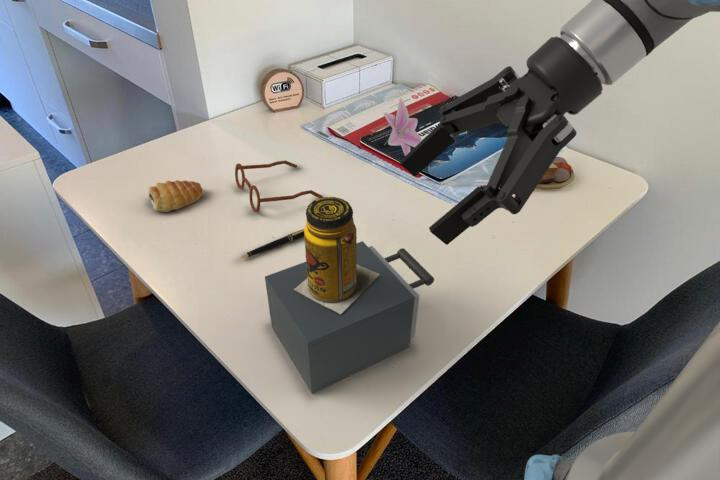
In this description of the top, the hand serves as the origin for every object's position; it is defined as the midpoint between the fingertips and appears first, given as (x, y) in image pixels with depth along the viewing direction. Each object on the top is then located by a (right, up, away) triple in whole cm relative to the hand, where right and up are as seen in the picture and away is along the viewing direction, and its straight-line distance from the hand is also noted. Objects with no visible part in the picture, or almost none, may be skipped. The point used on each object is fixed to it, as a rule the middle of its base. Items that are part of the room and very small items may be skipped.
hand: (420, 200), depth 59 cm
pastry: (-41, +3, +38) cm, 56 cm away
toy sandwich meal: (+29, +8, +45) cm, 55 cm away
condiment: (-10, -10, +7) cm, 16 cm away
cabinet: (-10, -18, +12) cm, 24 cm away
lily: (+2, +14, +53) cm, 55 cm away
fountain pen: (-20, -6, +28) cm, 35 cm away
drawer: (-6, -16, +13) cm, 22 cm away
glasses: (-22, +5, +40) cm, 47 cm away
